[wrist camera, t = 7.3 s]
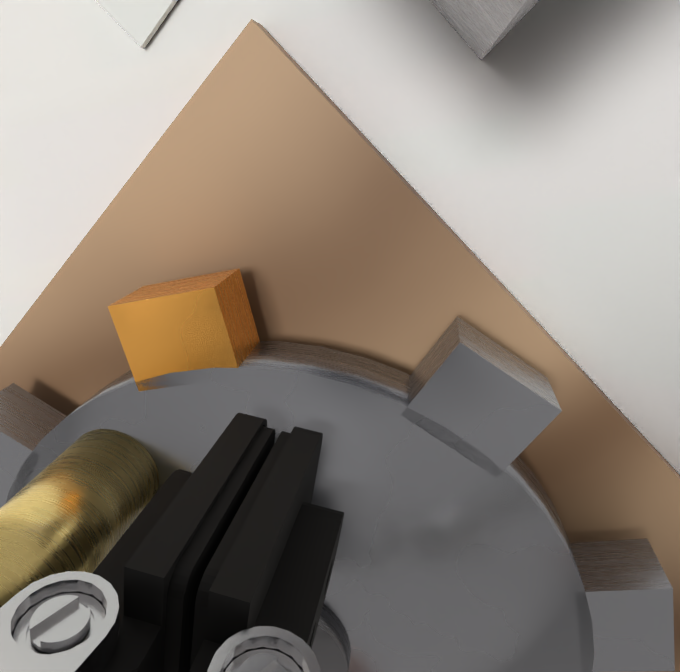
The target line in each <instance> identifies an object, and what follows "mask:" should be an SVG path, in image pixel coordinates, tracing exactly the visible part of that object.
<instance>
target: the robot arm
mask: <svg viewBox="0 0 680 672" xmlns="http://www.w3.org/2000/svg"><path fill="white" fill-rule="evenodd" d="M275 434H276V432H275V429H272V428H268V427H267V420H266V419H264V418H260V417H256V416H251V415H247V414H243V413H237V414H236V415H235V417H234V418H233V419H232V421H231V422H230V423H229V425H228V426H227V427H226V429H225V430H224V432H223V433H222V434H221V436H220V437H219V438H218V440H217V441H216V442H215V444H214V445H213V446H212V448H211V449H210V451H209V452H208V453H207V455H206V456H205V457H204V459H203V460H202V461H201V463H200V464H199V466H198V467H197V468H196V470H195V471H194V472H193V473H192V472H188V471H184V470H181V469H178V470H176V471H174V472H173V473H172V474H171V475H170V476H169V477H168V479H167V480H166V481H165V483H164V484H163V485H162V486H161V488H160V489H159V490H158V491H157V493H156V494H155V495H154V496H153V498H152V499H151V500H150V501H149V503H148V504H147V505H146V506H145V508H144V509H143V510H142V511H141V513H140V514H139V515H138V516H137V518H136V519H135V520H134V522H133V523H132V524H131V525H130V527H129V528H128V529H127V530H126V532H125V533H124V534H123V535H122V537H121V538H120V539H119V540H118V542H117V543H116V544H115V545H114V547H113V548H112V549H111V550H110V552H109V553H108V554H107V556H106V557H105V558H104V559H103V561H102V562H101V563H100V564H99V566H98V567H97V568H96V569H95V571H94V572H93V573H88V572H81V571H67V572H62V573H57V574H53V575H49V576H47V577H44V578H42V579H40V580H37V581H35V582H33V583H31V584H30V585H28V586H27V587H26V588H24V589H23V590H21V591H20V592H18V593H17V594H16V595H15V596H13V597H12V598H11V599H10V600H9V601H8V602H7V603H5V604H4V605H3V606H2V607H1V608H0V672H321V669H320V666H319V663H318V661H317V658H316V656H315V654H314V652H313V651H312V650H311V649H312V645H313V642H314V638H315V634H316V630H317V627H318V623H319V619H320V615H321V612H322V608H323V604H324V601H325V597H326V593H327V589H328V585H329V581H330V577H331V573H332V569H333V565H334V561H335V556H336V552H337V547H338V543H339V538H340V533H341V528H342V523H343V518H344V512H341V511H337V510H333V509H329V508H325V507H322V506H318V505H314V504H311V502H312V496H313V491H314V485H315V479H316V474H317V468H318V462H319V457H320V451H321V445H322V439H323V433H320V432H316V431H312V430H308V429H304V428H300V427H296V426H295V427H294V428H293V429H292V431H291V433H288V432H284V431H282V432H281V433H280V435H279V437H278V439H277V440H276V442H275ZM274 442H275V444H274Z"/></svg>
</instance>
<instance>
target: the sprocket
mask: <svg viewBox="0 0 680 672" xmlns="http://www.w3.org/2000/svg"><path fill="white" fill-rule="evenodd" d="M108 309H109V312H110V314H111V317H112V320H113V323H114V325H115V328H116V331H117V333H118V336H119V339H120V342H121V344H122V347H123V350H124V352H125V355H126V358H127V361H128V363H129V366H130V369H131V370H130V371H128V372H127V373H125V374H123V375H122V376H120V377H119V378H117V379H116V380H114V381H113V382H111V383H109V384H108V385H106V386H105V387H103V388H102V389H101V390H99V391H98V392H97V393H96V394H94V395H93V396H92V397H91V398H89V399H88V400H87V401H86V402H84V403H83V404H82V405H81V406H79V407H78V408H77V409H76V410H74V411H73V412H72V413H71V414H69V415H68V416H66V415H64V414H62V413H61V412H59V411H58V410H56V409H54V408H53V407H51V406H50V405H48V404H46V403H45V402H43V401H42V400H40V399H38V398H37V397H35V396H34V395H32V394H30V393H29V392H27V391H26V390H24V389H22V388H21V387H19V386H18V385H16V384H14V383H12V384H11V385H9V386H8V387H6V388H4V389H3V390H1V391H0V608H1V607H2V606H3V605H4V604H5V603H7V602H8V601H9V600H10V599H11V598H12V597H13V596H15V595H16V594H17V593H18V592H20V591H21V590H23V589H24V588H26V587H27V586H28V585H30V584H31V583H33V582H35V581H37V580H40V579H42V578H44V577H47V576H49V575H53V574H57V573H62V572H67V571H81V572H88V573H93V572H94V571H95V569H96V568H97V567H98V566H99V564H100V563H101V562H102V561H103V559H104V558H105V557H106V556H107V554H108V553H109V552H110V550H111V549H112V548H113V547H114V545H115V544H116V543H117V542H118V540H119V539H120V538H121V537H122V535H123V534H124V533H125V532H126V530H127V529H128V528H129V527H130V525H131V524H132V523H133V522H134V520H135V519H136V518H137V516H138V515H139V514H140V513H141V511H142V510H143V509H144V508H145V506H146V505H147V504H148V503H149V501H150V500H151V499H152V498H153V496H154V495H155V494H156V493H157V491H158V490H159V489H160V488H161V486H162V485H163V484H164V483H165V481H166V480H167V479H168V477H169V476H170V475H171V474H172V473H173V472H174V471H176V470H178V469H181V470H184V471H188V472H192V473H193V472H194V471H195V470H196V468H197V467H198V466H199V464H200V463H201V461H202V460H203V459H204V457H205V456H206V455H207V453H208V452H209V451H210V449H211V448H212V446H213V445H214V444H215V442H216V441H217V440H218V438H219V437H220V436H221V434H222V433H223V432H224V430H225V429H226V427H227V426H228V425H229V423H230V422H231V421H232V419H233V418H234V417H235V415H236V414H237V413H243V414H247V415H251V416H256V417H260V418H264V419H266V420H267V427H268V428H272V429H275V432H276V434H275V442H276V440H277V439H278V437H279V435H280V433H281V432H282V431H284V432H288V433H291V431H292V429H293V428H294V427H295V426H296V427H300V428H304V429H308V430H312V431H316V432H320V433H323V439H322V445H321V451H320V457H319V462H318V468H317V474H316V479H315V485H314V491H313V496H312V502H311V504H314V505H318V506H322V507H325V508H329V509H333V510H337V511H341V512H344V518H343V523H342V528H341V533H340V538H339V543H338V547H337V552H336V556H335V561H334V565H333V569H332V573H331V577H330V581H329V585H328V589H327V593H326V597H325V601H324V604H323V608H322V612H321V615H320V619H319V623H318V627H317V630H316V634H315V638H314V642H313V645H312V649H311V650H312V651H313V652H314V654H315V656H316V658H317V661H318V663H319V666H320V669H321V672H655V671H675V657H674V614H673V588H672V586H671V584H670V582H669V580H668V578H667V576H666V574H665V572H664V570H663V568H662V566H661V564H660V562H659V560H658V558H657V556H656V554H655V552H654V550H653V549H652V547H651V545H650V543H649V541H648V539H647V538H644V539H627V540H610V541H593V542H576V543H570V542H569V539H568V536H567V534H566V532H565V529H564V527H563V525H562V522H561V520H560V518H559V515H558V513H557V510H556V508H555V506H554V504H553V503H552V501H551V500H550V498H549V496H548V495H547V493H546V492H545V490H544V488H543V487H542V485H541V484H540V482H539V480H538V479H537V477H536V476H535V474H534V473H533V472H532V471H531V470H530V468H529V467H528V466H527V465H526V464H525V462H524V461H523V460H522V459H521V458H520V456H519V454H520V453H521V452H522V451H523V450H524V449H525V448H526V447H527V446H528V445H529V444H530V443H531V442H532V441H533V440H534V439H535V438H536V437H537V436H538V435H539V434H540V433H541V432H542V431H543V430H544V429H545V428H546V427H547V426H548V425H549V424H550V423H551V422H552V421H553V420H554V419H555V418H556V417H557V415H558V414H559V413H560V412H561V411H562V410H561V408H560V405H559V403H558V401H557V399H556V396H555V394H554V392H553V389H552V387H551V385H550V383H549V380H548V378H547V377H546V376H545V375H543V374H542V373H540V372H539V371H537V370H536V369H534V368H533V367H531V366H530V365H528V364H527V363H525V362H524V361H523V360H521V359H520V358H518V357H517V356H515V355H514V354H512V353H511V352H509V351H508V350H506V349H505V348H503V347H502V346H500V345H499V344H497V343H496V342H494V341H493V340H492V339H490V338H489V337H487V336H486V335H484V334H483V333H481V332H480V331H478V330H477V329H475V328H474V327H472V326H471V325H469V324H468V323H466V322H465V321H463V320H462V319H461V318H459V317H458V316H457V317H456V318H455V319H454V321H453V322H452V323H451V324H450V326H449V327H448V328H447V329H446V331H445V332H444V333H443V334H442V336H441V337H440V338H439V339H438V341H437V342H436V343H435V344H434V346H433V347H432V348H431V349H430V351H429V352H428V353H427V354H426V356H425V357H424V358H423V359H422V361H421V362H420V363H419V364H418V366H417V367H416V368H415V369H414V371H413V372H412V373H411V374H410V375H409V374H407V373H405V372H403V371H400V370H397V369H395V368H392V367H390V366H387V365H384V364H382V363H379V362H376V361H374V360H371V359H369V358H366V357H363V356H359V355H355V354H351V353H347V352H343V351H339V350H335V349H331V348H327V347H323V346H316V345H308V344H300V343H292V342H284V341H260V340H259V337H258V333H257V329H256V326H255V322H254V319H253V315H252V312H251V308H250V304H249V301H248V297H247V294H246V290H245V287H244V283H243V280H242V276H241V272H240V269H239V268H238V269H233V270H228V271H222V272H217V273H211V274H206V275H201V276H195V277H190V278H184V279H179V280H174V281H168V282H163V283H157V284H152V285H147V286H143V287H141V288H139V289H137V290H136V291H134V292H132V293H130V294H129V295H127V296H125V297H123V298H121V299H120V300H118V301H116V302H114V303H113V304H111V305H109V306H108ZM275 442H274V444H275Z"/></svg>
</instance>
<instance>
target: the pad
mask: <svg viewBox="0 0 680 672" xmlns="http://www.w3.org/2000/svg"><path fill="white" fill-rule="evenodd" d="M95 1H96V2H97V3H98V4H99V5H100V6H101V8H102V9H103V10H104V11H105V12H106V13H107V14H108V15H109V16H110V17H111V18H112V19H113V20H114V21H115V22H116V23H117V24H118V25H119V26H120V27H121V28H122V29H123V30H124V31H125V32H126V33H127V34H128V35H129V36H130V37H131V38H132V39H133V40H134V41H135V42H136V43H137V44H138V45H139V46H140V47H141V48H145V47H146V45H147V44H148V42H149V41H150V40H151V38H152V37H153V35H154V34H155V32H156V31H157V30H158V28H159V27H160V25H161V24H162V22H163V21H164V20H165V18H166V17H167V15H168V14H169V12H170V11H171V9H172V8H173V7H174V5H175V4H176V2H177V1H178V0H95Z"/></svg>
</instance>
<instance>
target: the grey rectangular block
mask: <svg viewBox="0 0 680 672" xmlns="http://www.w3.org/2000/svg"><path fill="white" fill-rule="evenodd" d="M430 1H431V2H432V3H433V5H434V6H435V7H436V8H437V9H438V10H439V12H440V13H441V14H442V15H443V16H444V17H445V19H446V20H447V21H448V22H449V23H450V24H451V25H452V27H453V28H454V29H455V30H456V31H457V32H458V34H459V35H460V36H461V37H462V38H463V39H464V41H465V42H466V43H467V44H468V45H469V46H470V48H471V49H472V50H473V51H474V52H475V53H476V54H477V56H478V57H479V58H480V59H481V60H482V59H483V58H484V57H485V56H486V55H487V54H488V53H489V52H490V51H491V50H492V49H493V48H494V47H495V46H496V45H497V44H498V43H499V41H500V40H501V39H502V38H503V37H504V36H505V35H506V34H507V33H508V32H509V31H510V30H511V29H512V28H513V27H514V26H515V25H516V24H517V23H518V22H519V21H520V20H521V19H522V18H523V17H524V16H525V15H526V14H527V13H528V12H529V11H530V10H531V9H532V8H533V7H534V6H535V5H536V4H537V3H538V2H539V1H540V0H430Z"/></svg>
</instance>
